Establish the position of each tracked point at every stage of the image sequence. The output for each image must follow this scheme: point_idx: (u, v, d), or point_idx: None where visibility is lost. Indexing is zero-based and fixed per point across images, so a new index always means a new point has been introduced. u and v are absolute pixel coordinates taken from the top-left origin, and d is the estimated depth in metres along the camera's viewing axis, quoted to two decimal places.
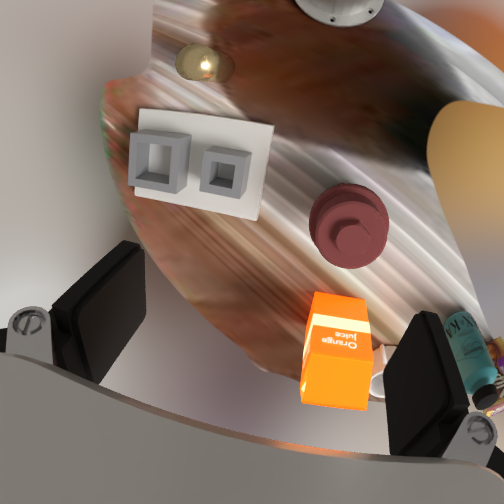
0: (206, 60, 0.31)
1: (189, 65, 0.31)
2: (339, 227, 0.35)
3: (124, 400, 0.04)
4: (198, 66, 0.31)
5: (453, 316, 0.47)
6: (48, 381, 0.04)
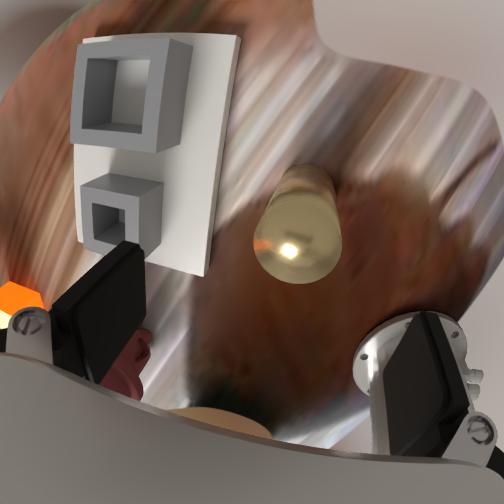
0: (295, 272, 0.17)
1: (290, 236, 0.16)
2: None
3: (124, 400, 0.04)
4: (284, 254, 0.16)
5: None
6: (48, 381, 0.04)
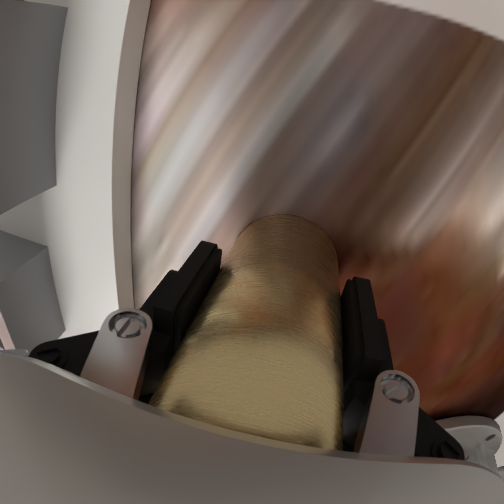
0: None
1: None
2: None
3: (124, 400, 0.04)
4: None
5: None
6: (48, 381, 0.04)
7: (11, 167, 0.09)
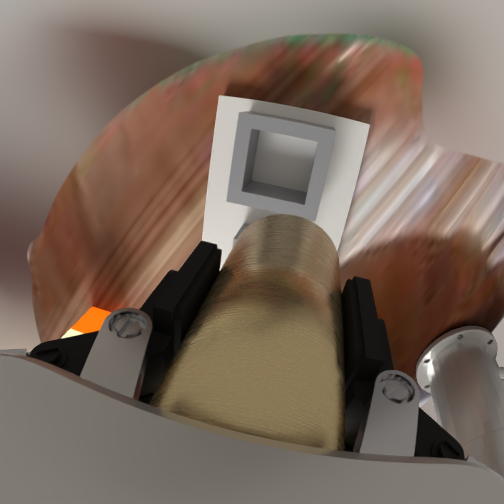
0: None
1: None
2: None
3: (124, 400, 0.04)
4: None
5: None
6: (48, 381, 0.04)
7: None
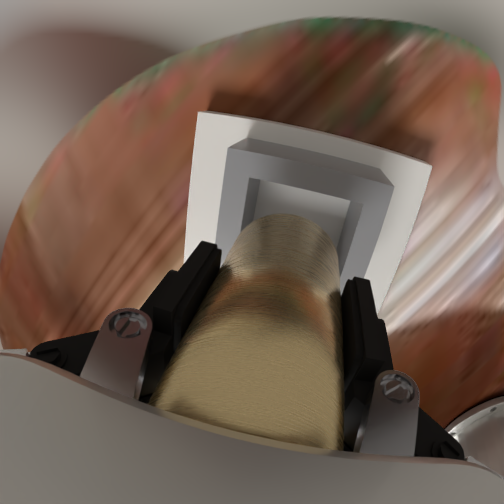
0: None
1: None
2: None
3: (124, 400, 0.04)
4: None
5: None
6: (48, 381, 0.04)
7: None
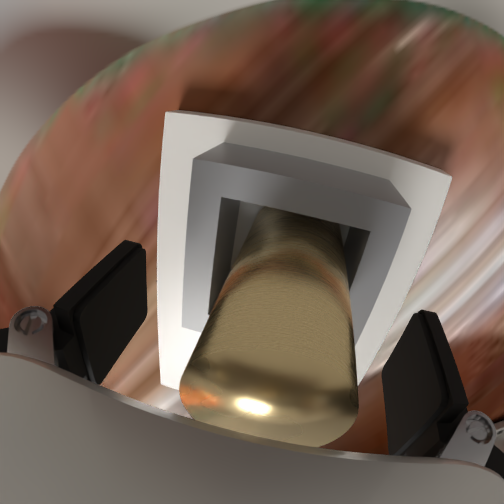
0: None
1: (252, 398, 0.07)
2: None
3: (124, 400, 0.04)
4: (241, 420, 0.08)
5: None
6: (48, 381, 0.04)
7: None
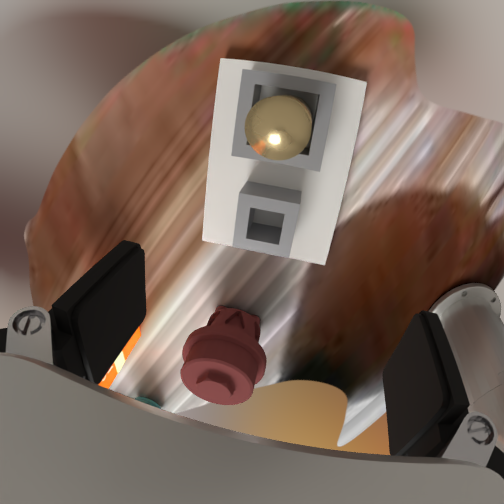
0: (278, 150, 0.21)
1: (272, 121, 0.20)
2: (224, 380, 0.32)
3: (124, 400, 0.04)
4: (268, 136, 0.21)
5: (154, 405, 0.55)
6: (48, 381, 0.04)
7: None
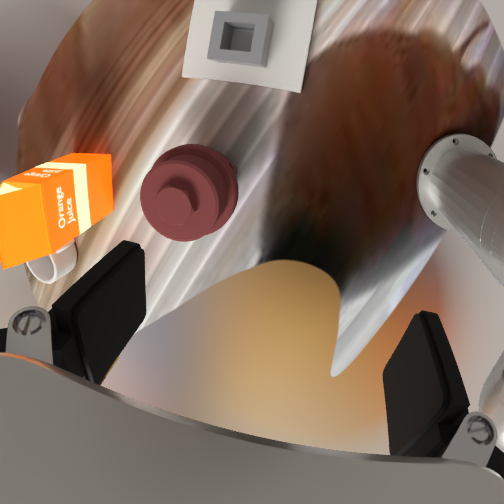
0: None
1: None
2: (185, 188, 0.29)
3: (124, 400, 0.04)
4: None
5: None
6: (48, 381, 0.04)
7: None
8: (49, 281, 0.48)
